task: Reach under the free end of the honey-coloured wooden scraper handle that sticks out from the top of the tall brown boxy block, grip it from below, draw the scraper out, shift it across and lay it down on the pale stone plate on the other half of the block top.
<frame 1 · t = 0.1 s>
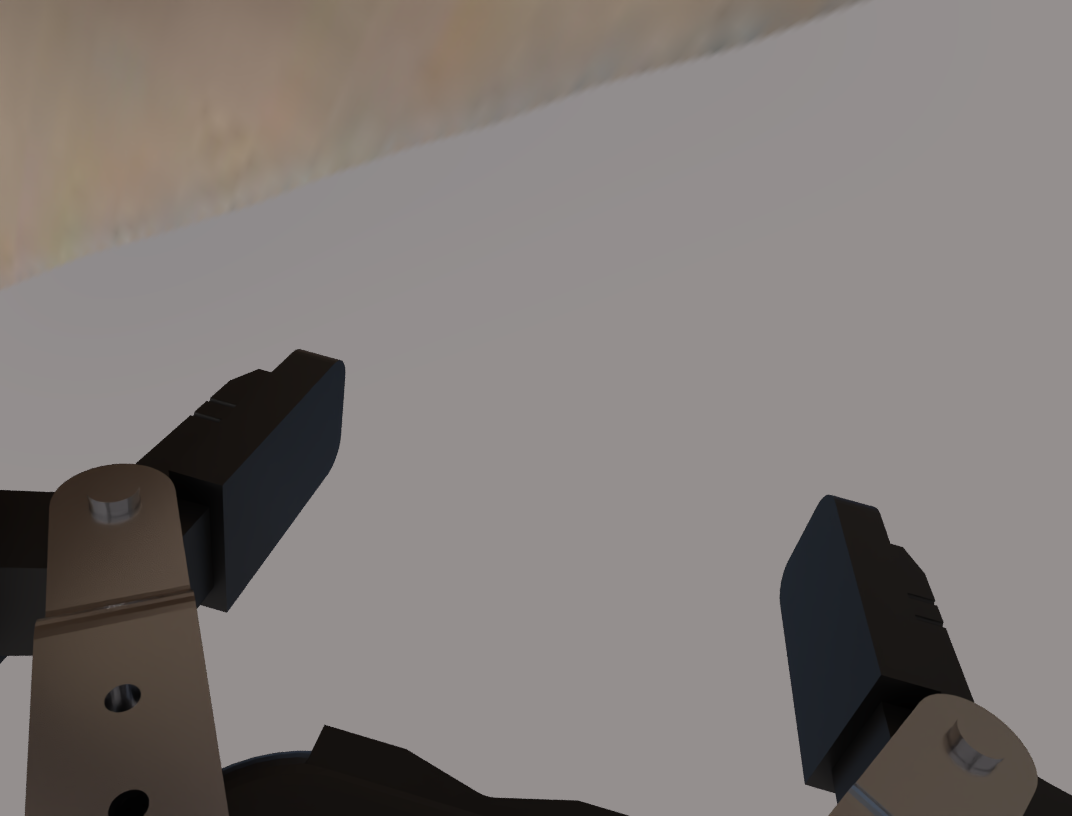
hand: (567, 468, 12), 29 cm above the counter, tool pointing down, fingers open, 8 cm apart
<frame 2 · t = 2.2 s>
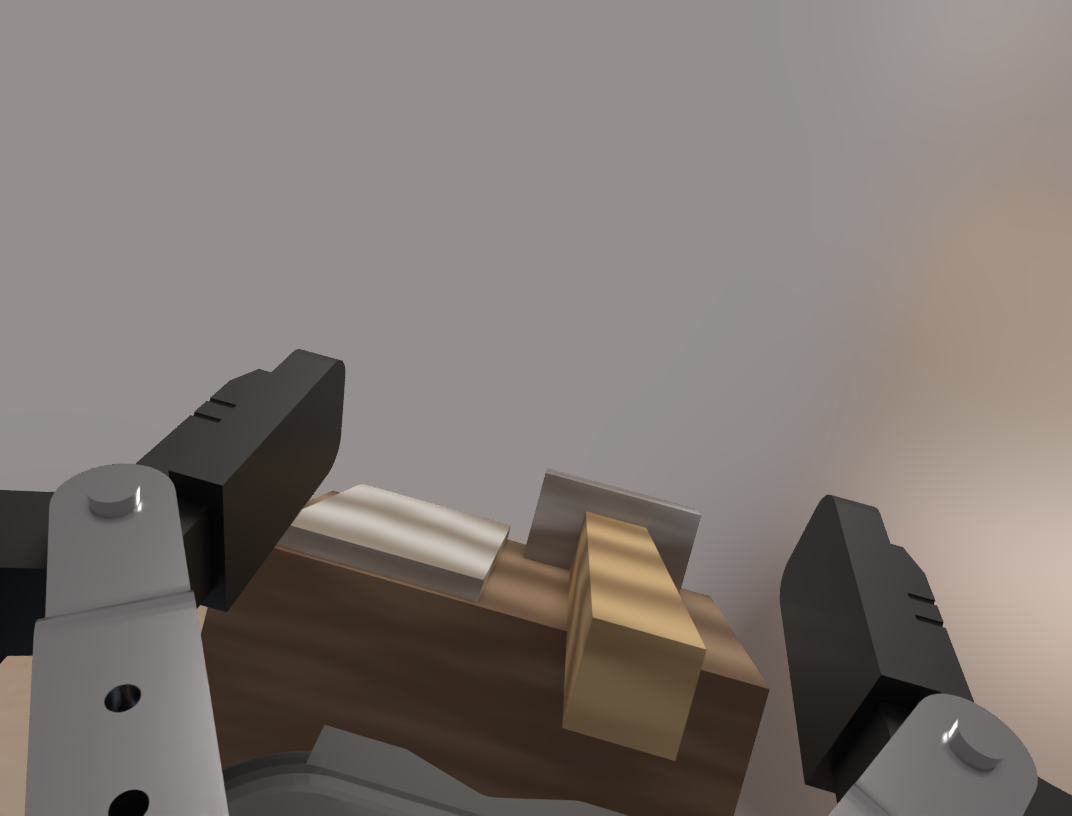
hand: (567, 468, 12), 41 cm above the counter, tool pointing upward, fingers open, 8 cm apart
scraper: (618, 744, 22), point 32 cm above the counter, touching brown boxy block
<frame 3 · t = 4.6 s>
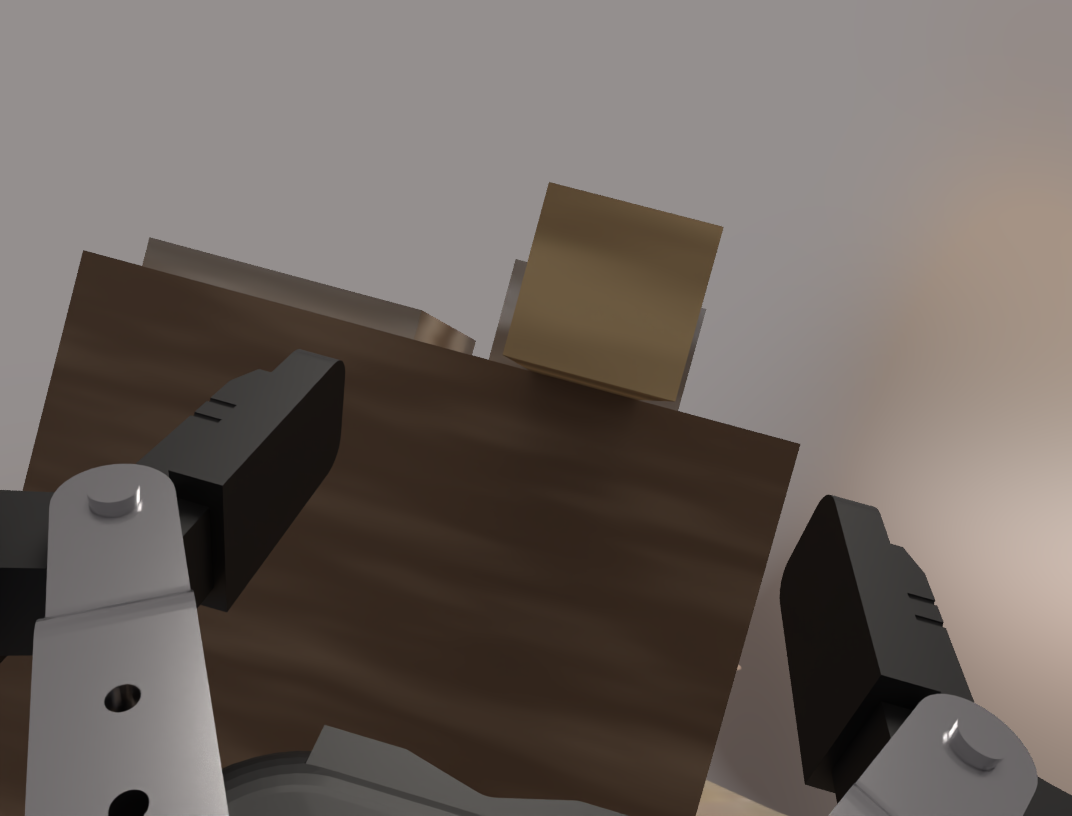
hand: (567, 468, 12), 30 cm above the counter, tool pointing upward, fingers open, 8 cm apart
scraper: (588, 378, 15), point 32 cm above the counter, touching brown boxy block
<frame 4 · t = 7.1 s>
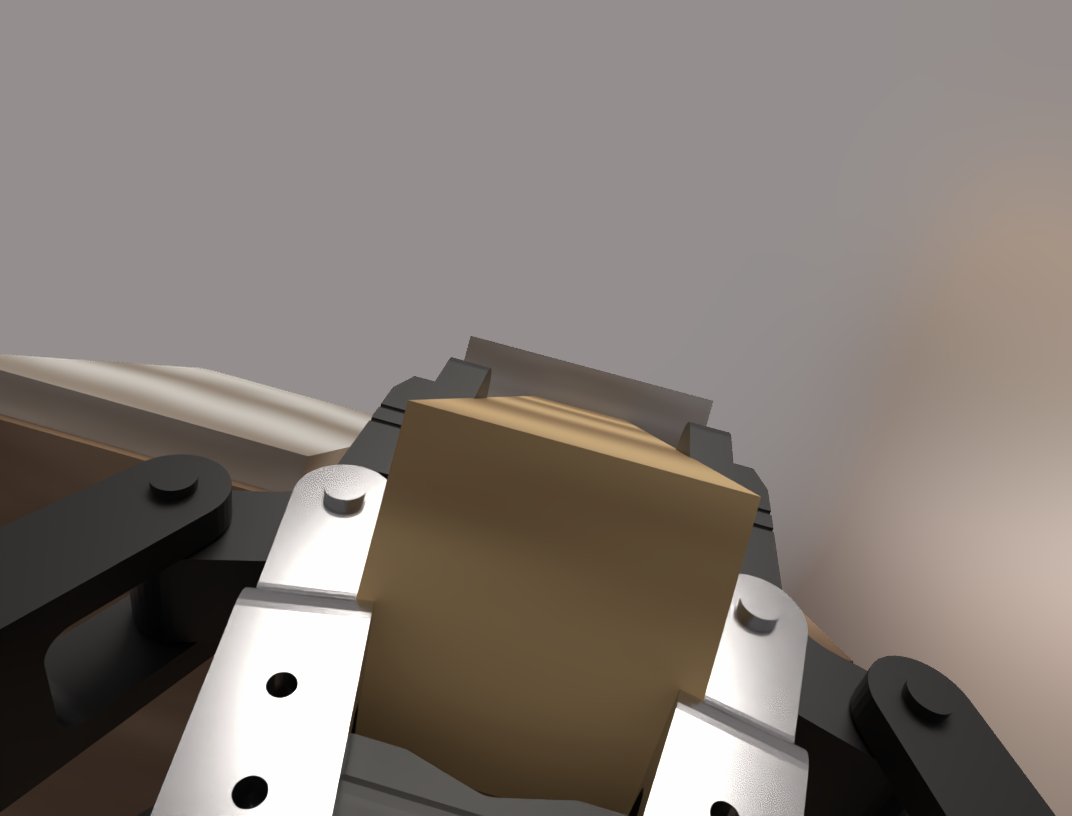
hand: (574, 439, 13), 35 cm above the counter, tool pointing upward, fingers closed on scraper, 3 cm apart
scraper: (487, 793, 7), point 32 cm above the counter, touching brown boxy block, gripper
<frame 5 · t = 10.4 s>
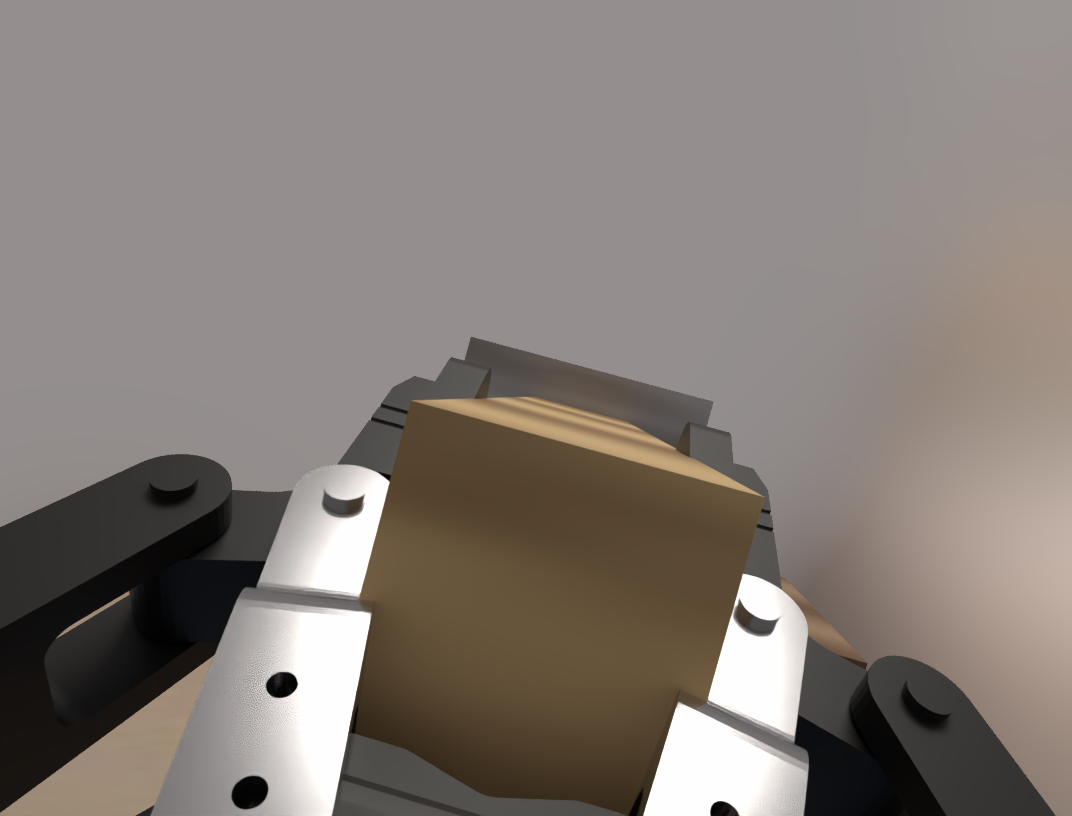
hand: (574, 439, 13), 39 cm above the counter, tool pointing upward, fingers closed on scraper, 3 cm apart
scraper: (491, 795, 7), point 36 cm above the counter, touching gripper
when the fingers open (37 cm above the counter, at t = 14.1 s): scraper stays where it is, resting on brown boxy block.
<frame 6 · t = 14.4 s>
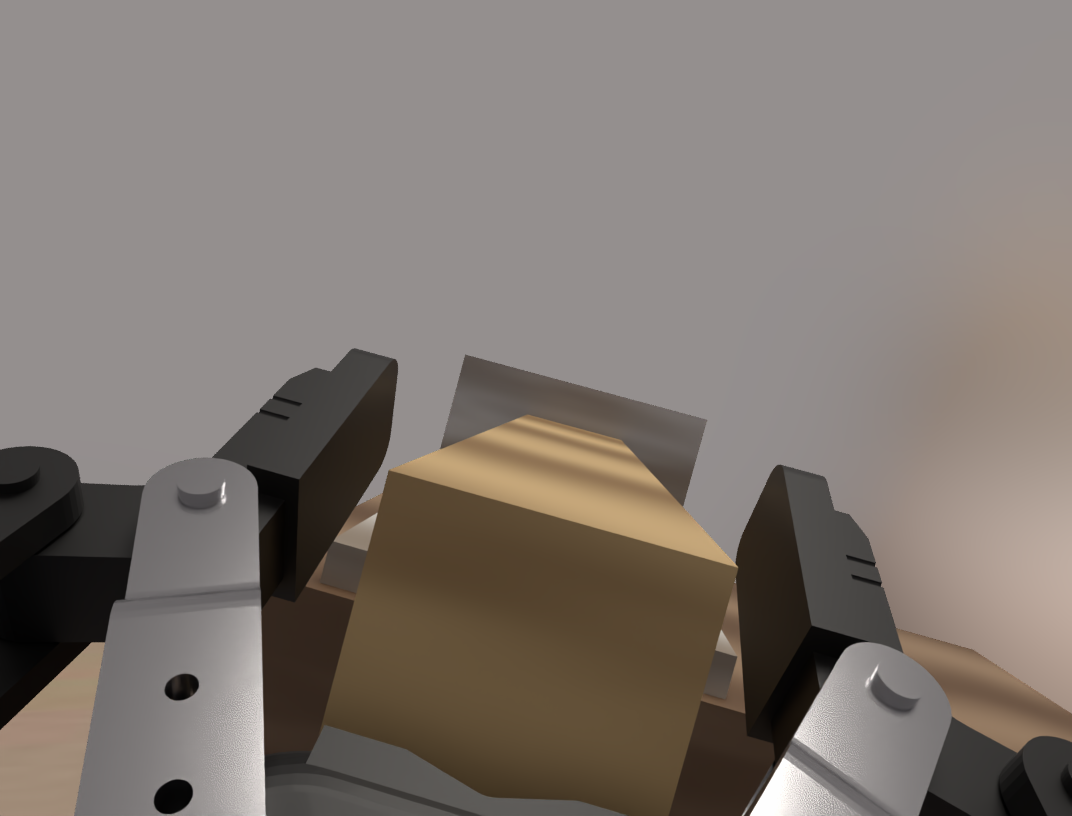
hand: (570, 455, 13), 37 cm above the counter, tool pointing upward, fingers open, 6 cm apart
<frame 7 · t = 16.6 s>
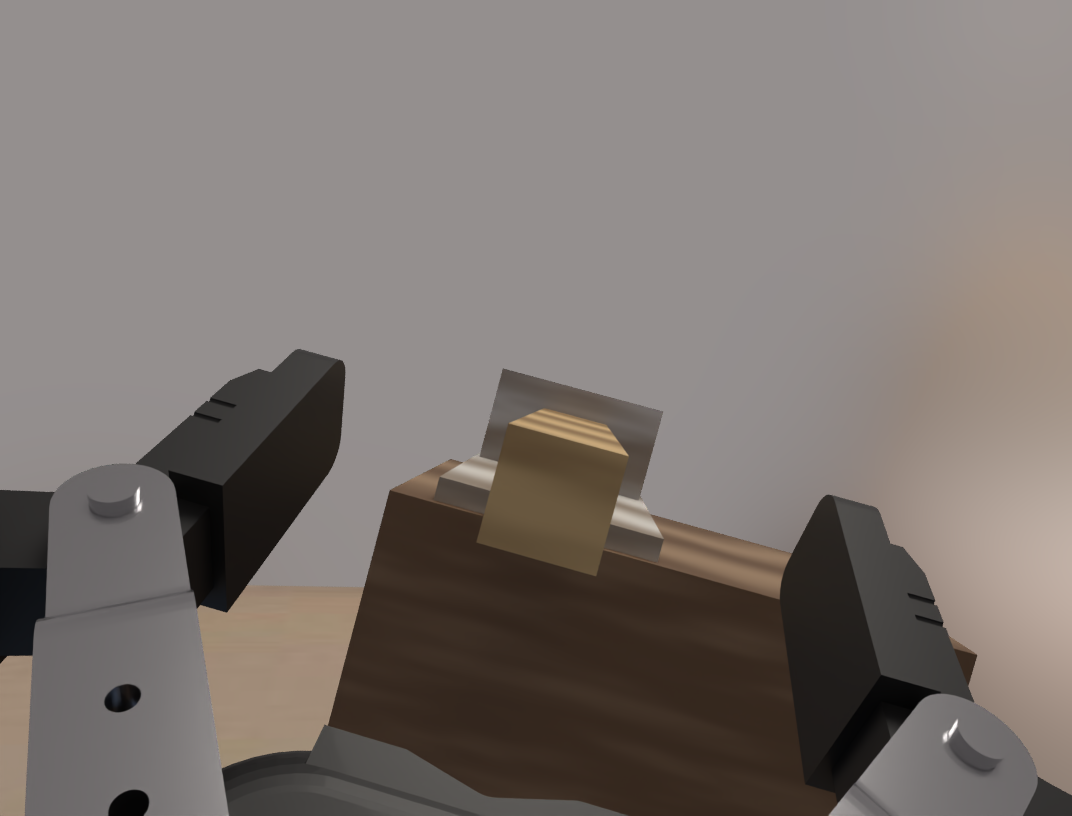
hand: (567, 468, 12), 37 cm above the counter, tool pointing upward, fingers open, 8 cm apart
scraper: (535, 559, 21), point 33 cm above the counter, touching brown boxy block
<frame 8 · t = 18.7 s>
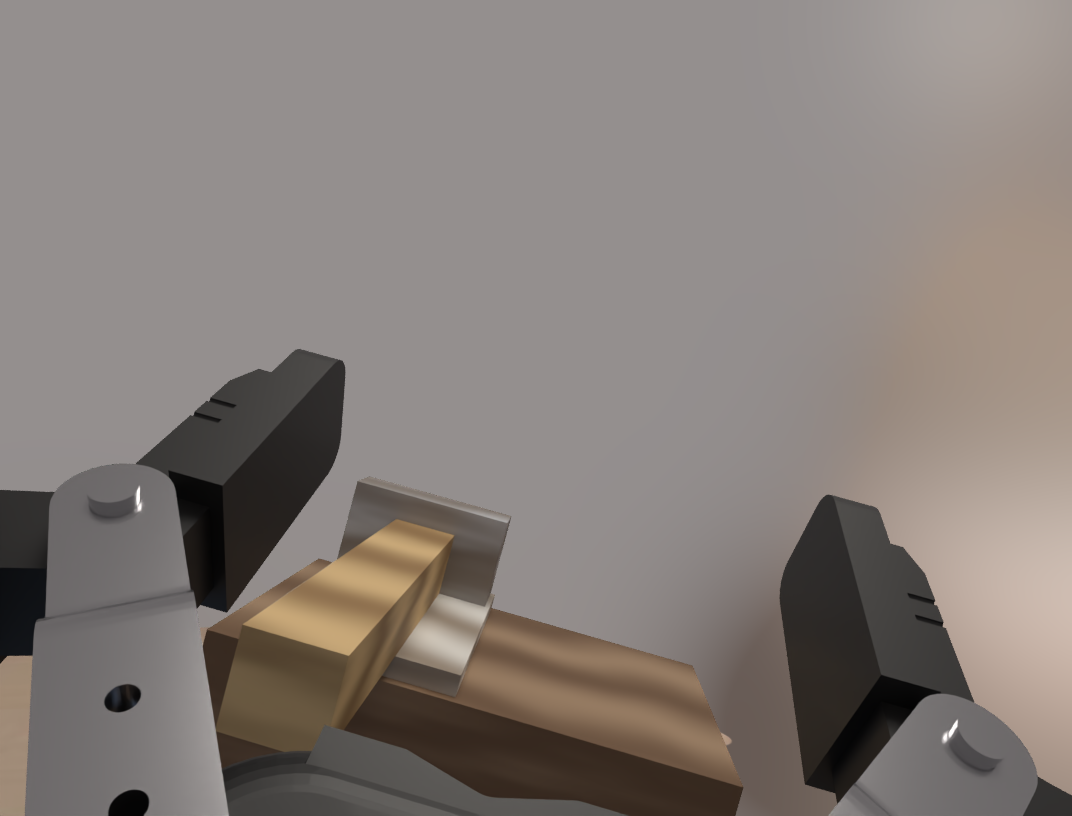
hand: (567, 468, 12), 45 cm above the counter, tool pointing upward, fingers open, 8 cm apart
scraper: (267, 746, 23), point 33 cm above the counter, touching brown boxy block
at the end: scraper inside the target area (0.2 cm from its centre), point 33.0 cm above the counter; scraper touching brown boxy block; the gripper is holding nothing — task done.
